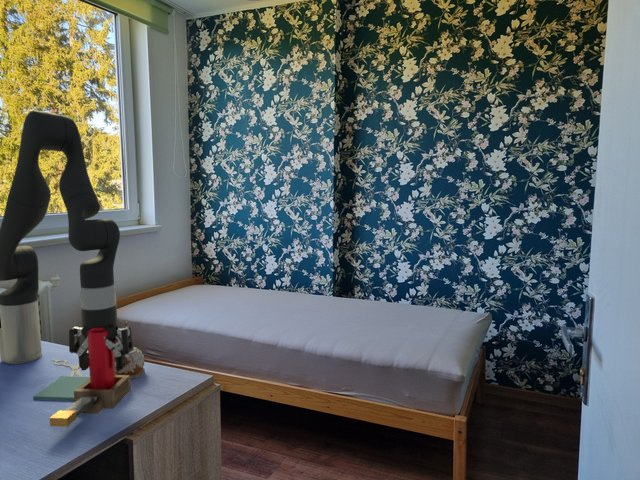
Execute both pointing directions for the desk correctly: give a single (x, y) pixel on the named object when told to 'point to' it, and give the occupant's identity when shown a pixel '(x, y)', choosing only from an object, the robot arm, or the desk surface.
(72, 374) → the scissors
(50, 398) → the coaster
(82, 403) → the lever
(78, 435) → the desk surface
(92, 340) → the bottle
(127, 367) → the caramel apple
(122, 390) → the holder
